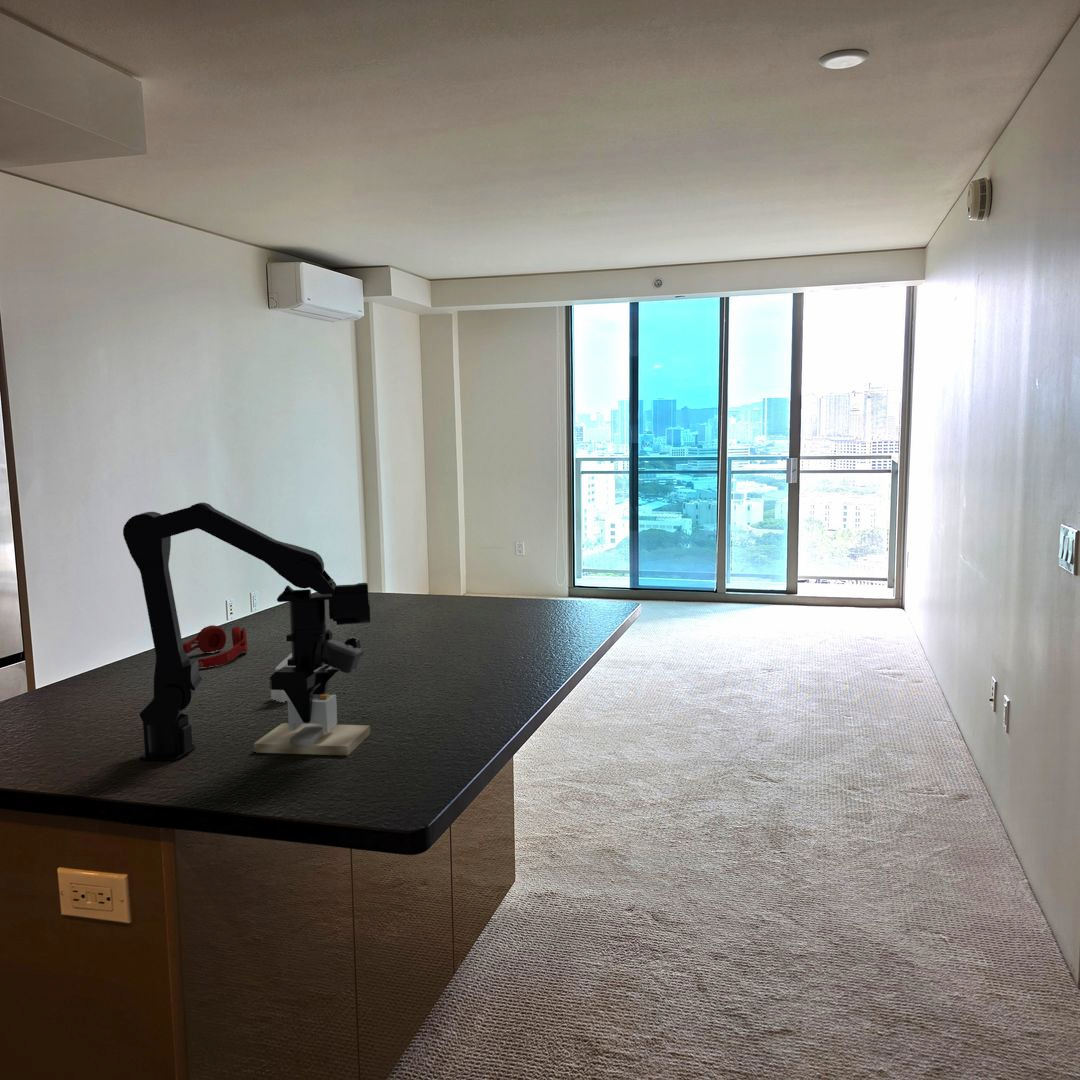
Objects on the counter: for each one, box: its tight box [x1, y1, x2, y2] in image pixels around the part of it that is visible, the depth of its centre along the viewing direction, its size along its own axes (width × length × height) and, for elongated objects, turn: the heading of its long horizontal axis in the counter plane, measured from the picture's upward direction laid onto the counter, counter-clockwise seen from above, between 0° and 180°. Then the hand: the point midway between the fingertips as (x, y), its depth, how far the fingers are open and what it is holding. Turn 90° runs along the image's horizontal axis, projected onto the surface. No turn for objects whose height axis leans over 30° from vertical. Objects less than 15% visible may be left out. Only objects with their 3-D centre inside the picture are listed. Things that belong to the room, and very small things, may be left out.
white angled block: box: [270, 652, 295, 703], centre depth 181 cm, size 4×10×9 cm, turn 141°
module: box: [286, 693, 338, 732], centre depth 152 cm, size 7×4×6 cm
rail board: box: [253, 722, 371, 756], centre depth 152 cm, size 16×11×2 cm
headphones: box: [182, 624, 248, 667], centre depth 216 cm, size 15×7×20 cm
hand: (312, 718), depth 152 cm, fingers closed on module, 4 cm apart
